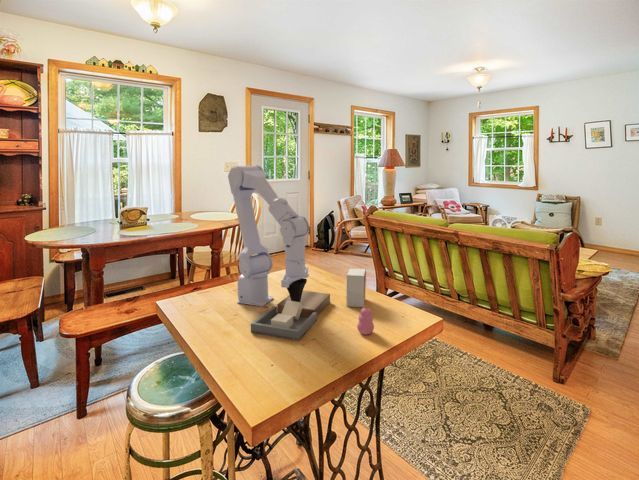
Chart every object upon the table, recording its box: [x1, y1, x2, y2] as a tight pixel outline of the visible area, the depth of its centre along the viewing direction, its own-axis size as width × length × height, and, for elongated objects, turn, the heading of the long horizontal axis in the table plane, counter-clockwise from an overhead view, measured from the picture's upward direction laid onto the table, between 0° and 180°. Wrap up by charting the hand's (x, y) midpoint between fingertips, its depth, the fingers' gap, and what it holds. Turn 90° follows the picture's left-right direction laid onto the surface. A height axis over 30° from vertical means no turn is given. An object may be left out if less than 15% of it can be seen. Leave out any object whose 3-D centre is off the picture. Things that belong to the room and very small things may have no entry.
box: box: [250, 305, 318, 342], centre depth 102 cm, size 14×13×2 cm
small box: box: [346, 267, 367, 308], centre depth 118 cm, size 8×6×10 cm
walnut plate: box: [276, 290, 331, 318], centre depth 114 cm, size 12×14×3 cm
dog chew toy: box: [356, 306, 375, 335], centre depth 97 cm, size 4×4×7 cm
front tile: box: [271, 314, 293, 328], centre depth 101 cm, size 4×4×2 cm
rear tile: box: [282, 300, 303, 320], centre depth 106 cm, size 4×4×2 cm
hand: (295, 303), depth 108 cm, fingers closed
